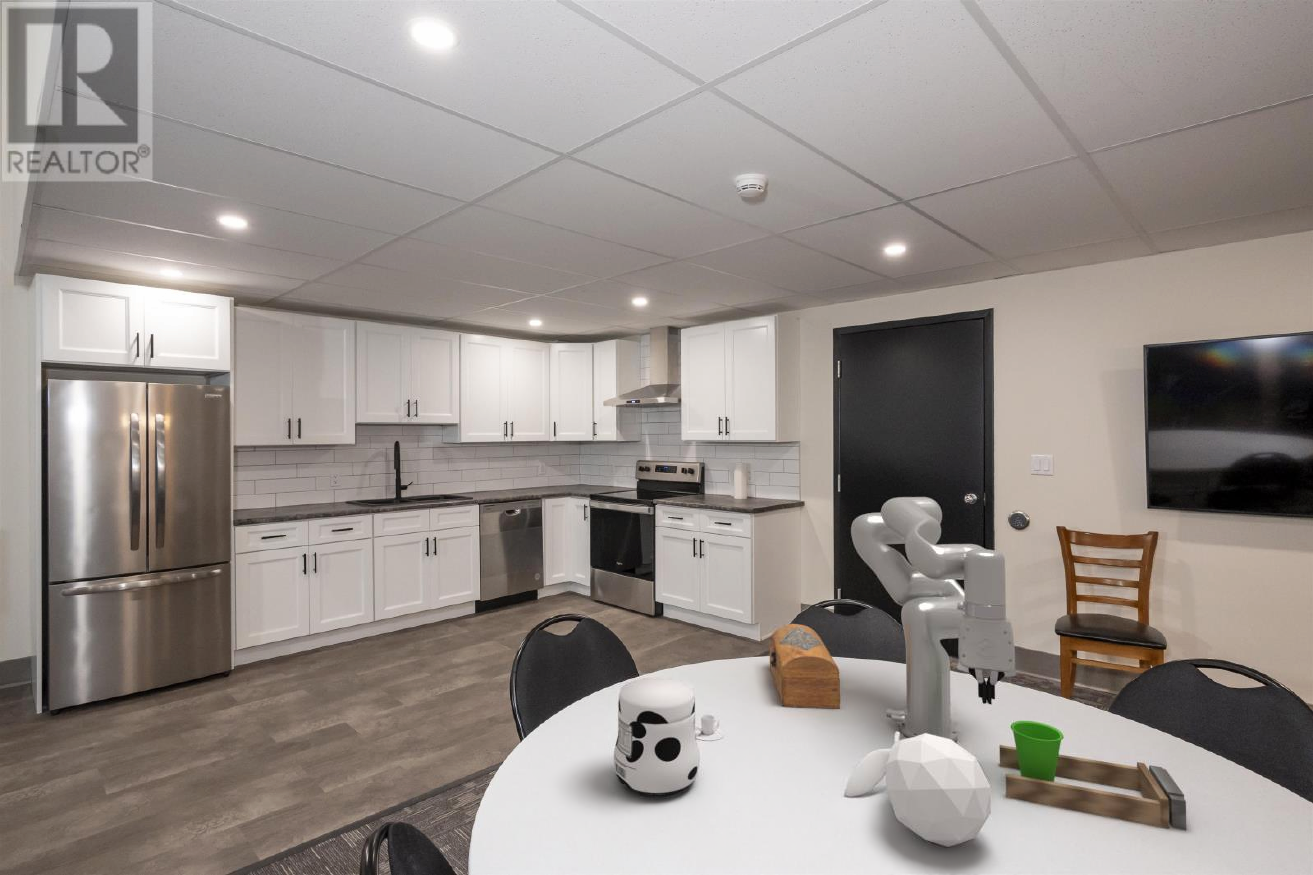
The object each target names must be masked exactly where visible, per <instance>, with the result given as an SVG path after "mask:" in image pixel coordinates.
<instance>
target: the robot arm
mask: <svg viewBox="0 0 1313 875" xmlns="http://www.w3.org/2000/svg"><path fill="white" fill-rule="evenodd" d="M942 511H943V510H942V509H941V506H940V504H938V502H937V501H936V500H934V499H932V498H930V497H927V496H914V497H913V496H902V497H901V496H899V497H892V498H890V499H888V500H887V501H886V502H884V503H883V505H882V507H881V510H880V512H871V513H869V512H868V513H865V514H861V515H859V516H857V517H856V518H855V519H854V520H852V524H851V527H850V534H851V539H852V542H853V546H854V548H855V550H856V553H857V554H858V555H859V557H861V559H862V560H863V562H864V563H865V564H866V565H867V566H868V567H869V568H870V570H872V571H873V572H874V574H875V575H876V576H877V579H878V580H879V581H880V582H881V584H882V586H883V587H884V589H885V590H886V592H887V593H888V594H889V596H890V598H892V599H893V601H894V603H896V604H897V605H899V606H901V607H902V608H901V613H900V617H901V623H902V624H901V625H902V629H903V635H904V641H905V664H906V666H905V667H906V669H905V671H906V673H905V674H906V678H905V679H906V681H905V682H906V684H905V685H906V687H905V688H906V690H905V691H906V692H905V693H906V705H905V708H904V709H901V708H900V710H897V709H893V708H890V707H889V708H888V707H887V708H886V717H887V718H891V721H893V722H900V723H899V731H900V732H901V733H902V734H903V735H904V736H906V738H912V737H916V736H919V735H922V734H924V733H927V734H931V735H935V736H939V737H943V738H947V739H951V740H952V741H954V742H955V743H956V742H957V741H958V740H959V739H958V738H959V733H958V730H957V729H956V728H955V727H954V726H952V723H951V722H952V720H951V718H952V717H951V661H950V657H949V654H948V653H947V651H946V649H945V648H944V646H943V645H942V644H941V640H945V639H947V640H948V639H958V643H957V646H958V648H957V650H958V652H957V653H958V658H957V663H956V664H957V665H956V666H957V669H958V671H959V670H960V671H962V672H965V673H969V674H970V675H971V676H972V677H973V678H974V679H975V680H976V681H977V690H978V692H977V695H978V698H980V699H981V700H982V704H985V705H986V704H988V705H993V704H992V700H996V685H997V683H998V682H1000V681H1001V680H1002V679H1003V678H1007V677H1008V678H1009V677H1015V676H1016V675H1017V670H1016V653H1015V640H1014V631H1013V626H1012V623H1011V620H1010V619H1009V618H1007V603H1006V602H1007V601H1006V599H1007V598H1006V591H1007V590H1006V559H1005V556H1004V554H1003V553H1002V552H1001V551H998V550H993V549H986V548H984V547H982V546H981V545H979V544H975V543H974V544H973V543H948V544H947V543H945V544H943V543H942V544H937V543H938V542H939V540H940V538H941V535H942V527H941V523H942V520H943V512H942ZM897 544H898V545H900V544H904V548H905V553H906V557H907V559H908V560H907V559H906V558H905V556H904V555H903V554H902V553H901V552H900V551H898V550H896V549H895V548H894V547H892V546H890V545H897ZM957 580H964V581H963V582H964V583H963V587H964V589H963V588H962V586H961V585H960V584H959V583H958V581H957ZM982 670H985V671H989V674H988V675H989V676H988V677H987V680H986V679H985V677H984V676H983V671H982Z"/></svg>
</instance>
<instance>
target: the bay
mask: <svg viewBox="0 0 1313 875" xmlns="http://www.w3.org/2000/svg"><path fill="white" fill-rule="evenodd" d="M999 766H1000V767H1002V768H1006V769H1007V768H1008V769H1013V770H1018V771H1020V767H1019V761H1018V756H1017V750H1016V746H1011V745H1010V746H1009V745H1003V744H999ZM1055 777H1058V778H1059V777H1060V778H1066V779H1072V780H1076V781H1083V782H1087V783H1092V784H1093V783H1094V784H1099V785H1104V786H1110V787H1111V786H1112V787H1118V788H1121V789H1122V788H1123V789H1129V790H1134V791H1139V792H1140V794H1141V797H1140V796H1134V795H1129V794H1122V793H1117V792H1112V791H1106V790H1100V789H1094V788H1088V787H1085V786H1084V787H1083V786H1078V785H1071V784H1066V783H1061V782H1056V781H1054V782H1050V781H1045V780H1039V779H1033V778H1028V777H1022V776H1021V775H1015V774H1010V773H1005V796H1006V798H1007V799H1012V800H1018V801H1021V802H1022V801H1023V802H1028V803H1034V804H1039V805H1043V806H1048V807H1055V808H1059V809H1065V810H1070V811H1074V812H1075V811H1076V812H1080V813H1086V814H1089V815H1091V814H1092V815H1096V816H1101V817H1102V816H1103V817H1106V818H1107V817H1108V818H1111V819H1112V818H1113V819H1117V820H1121V821H1128V822H1131V823H1139V824H1144V825H1148V826H1155V827H1159V828H1165V829H1170V826H1171V828H1172V829H1179V830H1184V831H1187V800H1186V799H1185V794H1184V793H1183V791H1182V790H1181V788H1180V787H1179V786H1178V784H1177V782H1175V780H1174V778H1173V777H1172V776H1171V775H1170V773H1169V772H1168V770H1167V769H1166V768H1163V767H1162V766H1156V765H1150V764H1149V765H1148V766H1147V765H1146V764H1145V762H1140V761H1137V762H1136V766H1133V765H1125V764H1120V763H1114V762H1108V761H1102V760H1096V759H1089V758H1082V757H1076V756H1071V755H1065V754H1059V755H1058V761H1057V767H1056V772H1055Z"/></svg>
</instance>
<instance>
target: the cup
mask: <svg viewBox="0 0 1313 875" xmlns="http://www.w3.org/2000/svg"><path fill="white" fill-rule="evenodd" d="M1010 729H1011V730H1012V733H1013V738H1014V744H1015V747H1016V750H1017V756H1018V761H1019V767H1020V770H1019V772H1020V776H1022V777H1028V778H1033V779H1039V780H1045V781H1050V782H1055V777H1056V776H1055V772H1056V767H1057V761H1058V755H1060V749H1061V744H1062V740H1063V739H1065V738H1064V734H1063V732H1062V731H1061V730H1059V728H1056V727H1054V726H1052V725H1049V724H1047V723H1044V722H1043V723H1042V722H1037V721H1032V720H1018V721H1014V722H1012V723H1011V725H1010Z"/></svg>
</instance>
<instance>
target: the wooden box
mask: <svg viewBox="0 0 1313 875" xmlns="http://www.w3.org/2000/svg"><path fill="white" fill-rule="evenodd" d="M769 670H770V673H771V675H772V678H773V681H774V684H775V687H776V689H777V693H778V696H779V700H780V702H781V703H780V704H781V705H782V707H784V708H803V709H806V708H807V709H808V708H809V709H840V708H841V678H840V670H839V667H838V665H837V663H836V661H835V660H834V658H833V657H832V655H831V653H830V652H829V650H828V648H827V647H826V645H825V643H824V641H823V640H822V639H821V637H820V635H818V633H817V632H816V631H815V630H814V629H812V628H811V627H809V626H807V625H804V624H798V623H790V624H785V625H783V626H781V627H779V628H778V629H777V630H775V631H774V632H773V633H771V635H770V643H769Z"/></svg>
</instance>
